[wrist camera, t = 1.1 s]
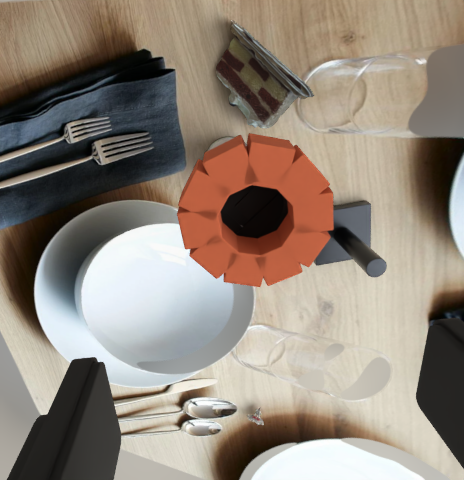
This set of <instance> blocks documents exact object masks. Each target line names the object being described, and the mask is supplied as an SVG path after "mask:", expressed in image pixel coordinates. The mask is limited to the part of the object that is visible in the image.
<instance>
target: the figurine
mask: <svg viewBox="0 0 464 480" xmlns="http://www.w3.org/2000/svg"><path fill="white" fill-rule="evenodd" d="M260 408H261V407H260ZM260 408H259V409H256V413H255V414H254V415H248V416H247V417H248V419H250V421H251V420H252V421H254V422H256V423H257V424H258V425H260V424H261V425H262V423H263V422H264V421H263V420H262V419H261V418H260V415H261V411H260ZM256 414H258V416H256ZM259 423H260V424H259ZM263 425H264V423H263Z"/></svg>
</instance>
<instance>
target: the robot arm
mask: <svg viewBox="0 0 464 480" xmlns="http://www.w3.org/2000/svg"><path fill="white" fill-rule="evenodd" d="M416 399H417V403H418V405H419V407H420V409H421V410H422V412H423V413H424V414H425V416H426V417H427V419H428V420H429V421H430V423H431V424H432V425H433V427H434V428H435V430H436V431H437V432H438V434H439V435H440V437H441V438H442V439H443V441H444V442H445V444H446V445H447V446H448V448H449V449H450V450H451V452H452V453H453V455H454V456H455V457H456V459H457V460H458V462H459V463H460V464H461V466H462V467H463V468H464V322H463V321H462V320H460V319H458V318H450V319H441V320H436V321H435V322H434V323H433V326H430V327H429V330H428V335H427V340H426V345H425V350H424V355H423V361H422V366H421V371H420V376H419V382H418V387H417V392H416ZM120 445H121V431H120V427H119V423H118V419H117V414H116V410H115V406H114V402H113V398H112V394H111V389H110V385H109V381H108V377H107V373H106V369H105V365H104V363H103V362H98V361H97V359H96V358H95V357H92V358H82V359H74V360H72V362H71V363H70V366H69V368H68V370H67V372H66V374H65V377H64V379H63V381H62V383H61V386H60V388H59V390H58V392H57V394H56V397H55V399H54V401H53V403H52V405H51V408H50V410H49V412H48V414H47V415H41V416H39V417H38V418H37V420H36V421H35V423H34V425H33V427H32V429H31V431H30V433H29V435H28V437H27V439H26V441H25V443H24V445H23V448H22V450H21V452H20V454H19V456H18V458H17V460H16V462H15V464H14V466H13V468H12V470H11V472H10V474H9V477H8V479H7V480H113V479H114V475H115V470H116V465H117V460H118V455H119V450H120Z"/></svg>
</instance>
